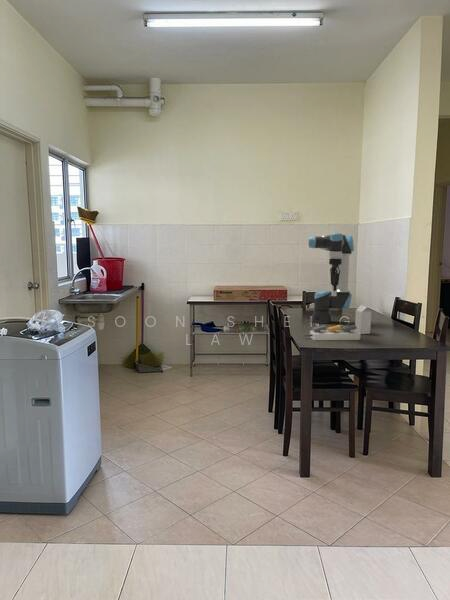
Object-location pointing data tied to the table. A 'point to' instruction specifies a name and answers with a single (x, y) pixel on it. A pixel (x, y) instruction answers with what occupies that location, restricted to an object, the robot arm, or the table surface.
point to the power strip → (335, 335)
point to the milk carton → (363, 320)
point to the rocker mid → (334, 328)
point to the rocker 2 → (349, 328)
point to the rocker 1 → (319, 328)
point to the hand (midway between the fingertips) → (334, 295)
